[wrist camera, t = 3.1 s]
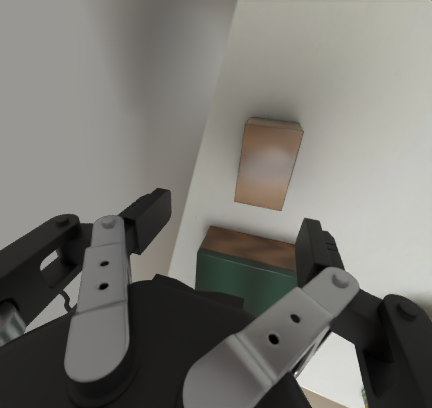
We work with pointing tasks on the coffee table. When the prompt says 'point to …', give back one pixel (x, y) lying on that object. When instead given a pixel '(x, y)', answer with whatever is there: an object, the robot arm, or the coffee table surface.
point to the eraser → (267, 162)
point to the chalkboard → (246, 268)
